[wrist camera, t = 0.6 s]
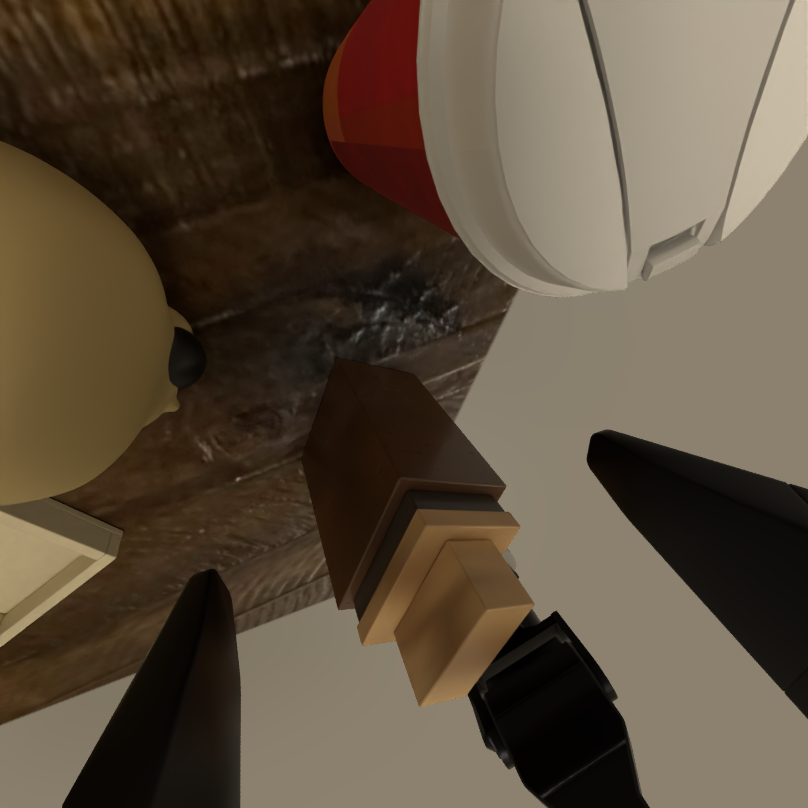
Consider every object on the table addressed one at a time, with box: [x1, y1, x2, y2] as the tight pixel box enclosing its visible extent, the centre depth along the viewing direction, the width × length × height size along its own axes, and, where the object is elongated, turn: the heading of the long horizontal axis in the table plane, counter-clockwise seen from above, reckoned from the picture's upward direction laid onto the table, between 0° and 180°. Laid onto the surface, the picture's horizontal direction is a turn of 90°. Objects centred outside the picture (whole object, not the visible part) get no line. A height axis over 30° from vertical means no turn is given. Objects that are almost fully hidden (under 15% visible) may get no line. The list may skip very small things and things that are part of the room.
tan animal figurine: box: [0, 141, 206, 506], centre depth 12 cm, size 10×12×11 cm
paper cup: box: [323, 0, 808, 297], centre depth 11 cm, size 8×8×14 cm
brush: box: [354, 491, 534, 707], centre depth 15 cm, size 6×4×4 cm
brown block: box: [302, 357, 506, 610], centre depth 20 cm, size 7×5×10 cm
